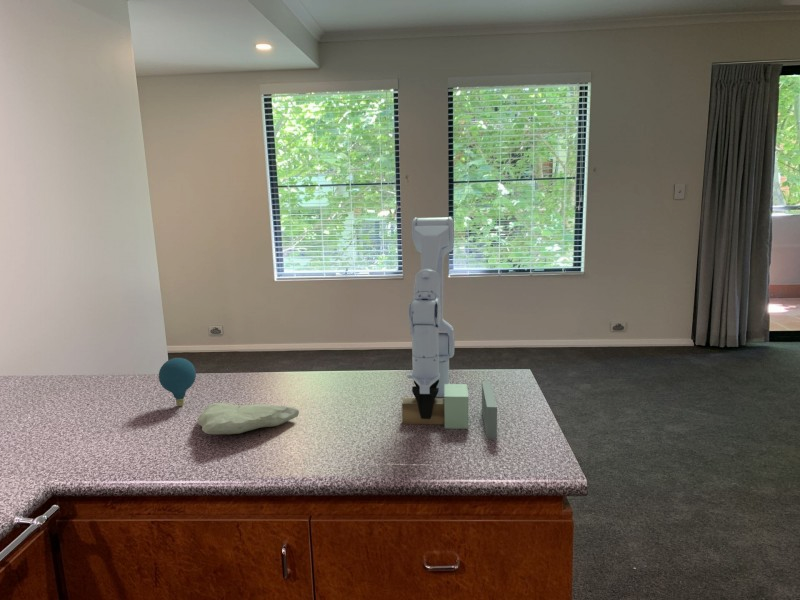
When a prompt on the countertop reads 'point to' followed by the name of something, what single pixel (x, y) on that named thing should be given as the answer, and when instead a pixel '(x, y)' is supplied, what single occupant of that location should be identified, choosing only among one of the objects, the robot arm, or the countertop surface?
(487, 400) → the board
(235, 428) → the rock
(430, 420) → the bar
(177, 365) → the light bulb
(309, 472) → the countertop surface
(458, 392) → the block
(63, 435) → the countertop surface
